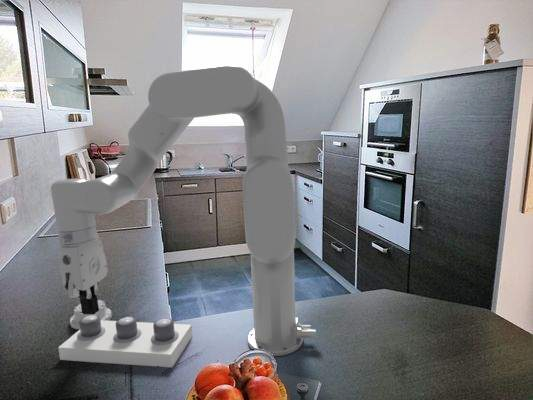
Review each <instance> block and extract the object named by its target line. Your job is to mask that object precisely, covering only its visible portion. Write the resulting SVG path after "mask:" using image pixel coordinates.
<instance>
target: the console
mask: <svg viewBox="0 0 533 400" xmlns="http://www.w3.org/2000/svg"><path fill="white" fill-rule="evenodd" d="M100 321H101V328H102V330H101V332H100V333H98V334H97V335H94V336H91V337H83V336H81V332H80V329H78V331H76V332H75V333H74V334H72V335H71V336H70V337H69V338H68V339H67V340H65V341H64V342H63V343H61V344H60V345H59V346H58V355H59V359H60V361H73V362H87V363H100V364H101V363H102V364H112V365H113V364H115V365H116V364H117V365H131V366H132V365H133V366H146V367H157V366H159V367H161V368H173V367H174V366H175V364H176V362H177V361H178V360H179V358H180V356H181V355H182V353H183V352H184V350H185V349H186V346H187V345H188V344H189V343H190V341H191V339H192V338H193V329H192V327H193V326H192V324H183V323H174V331H175V336H174V337H173V338H172V339H170V340H167V341H157V340H155V338H154V328H153V324H154V323H155V322H145V321H144V322H143V321H141V322H140V321H136V322H137V331H138V332H137V334H136V335H135V336H134V337H132V338H129V339H119V338H118V337H117V332H116V322H117V321H118V320H109V321H105V320H100Z"/></svg>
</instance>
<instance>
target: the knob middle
mask: <svg viewBox="0 0 533 400" xmlns="http://www.w3.org/2000/svg"><path fill="white" fill-rule="evenodd" d="M116 321H117V322H116V332H117V337H118V338H119V339H129V338H132V337H134V336H135V335H136V334H137V332H138V331H137V322H138V321H137V318H136V317H134V316H125V317H122V318H120V319H117V320H116Z"/></svg>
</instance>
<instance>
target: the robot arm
mask: <svg viewBox="0 0 533 400" xmlns="http://www.w3.org/2000/svg"><path fill="white" fill-rule="evenodd" d="M147 99H148V103H149V104H148V105H147V107H146V108H145V110H143V111H142V113H141V115H140V116H139V117H138V118H137V120H136V121H135V122H134V123H133V124H132V126H131V127H130V128H129V130H128V133H127V136H128V148H127V150H126V153H125V154H124V156H123V157H122V159H121V160H120V161H119V162H118V164H117V165H116V167H115V168H114V169H113V170H112V171H111V173H110V174H107V175H103V176H101V177H97V178H94V179H90V180H89V179H88V180H87V179H85V178H67V179H61V180H57V181H54V182H53V183H52V184H51V186H50V194H51V199H52V205H53V210H54V217H55V223H56V228H57V234H58V241H59V245H60V247H59V267H60V275H61V281H62V285H63V288H64V290H65V291H68V292H67V294H68V295H67V296H68V298H70V299H71V298H72V299H73V298H74V299H75V298H77V299H78V300H79V302H80V303H79V304H81V309H82V313H83V314H95V313H96V312H98V311H99V307H98V300H99V299H98V296H97V295H98V292H99V289H98V288H99V287H98V286H99V283H100V282H101V281H102V280H103V279H104V278H106V276H107V275H108V264H107V259H106V256H105V251H104V248H103V244H102V241H101V239H100V237H99V235H98V231H97V225H96V218H95V215H106V214H109V213H112V212H113V211H116V210H117V209H119V208H121V207H122V206H125V205H127V204H128V203H130V202H131V201H132V200H133V199H134V198H135V196H137V194H138V193H139V192H140V190H141V189H142V188H143V187H144V186H145V184H146V183H148V180H149V179H150V178H151V177H152V175H153V173H154V172H155V170H156V169H157V168H158V166H159V164H160V163H161V162H162V160H163V158H164V156H165V155H166V154H167V153H168V152H169V149H171V147H172V146H173V145H174V144H175V142H176V141H177V140H178V139H179V137H181V135H182V134H183V132H184V131H185V130H186V129H187V127H188V126H189V125H190V124H191V123H192V121H193V120H194V119H195V118H204V117H210V116H211V117H212V116H218V115H230V114H232V115H233V114H234V115H238V116H239V117H240V119H241V120H242V122H243V126H244V141H245V142H244V143H245V151H246V170H245V172H244V174H243V178H242V201H243V203H242V204H243V205H242V206H243V216H244V217H243V219H244V232H245V242H246V243H245V244H246V247H247V249H248V251H249V253H250V270H251V289H252V290H251V292H252V293H251V294H252V296H251V297H252V311H253V314H252V315H253V329H252V330H250V332H249V333H248V335H247V343H248V345H249V348H250V349H251V350H252V349H257V348H259V349H264V350H266V351H268V352H270V353H271V354H273V355H274V356H273V357H279V356H280V357H281V356H286V355H289V354H292V353H294V352H296V351H297V350H299V349H300V348H301V346H302V345H303V342H304V339H311V340H312V339H313V340H314V339H317V338H316V337H317V336H316V335H317V334H316V333H317V331H316V329H312V325H311V324H301V323H300V322H299V317H298V316H297V317H296V291H295V290H296V289H295V286H296V285H295V276H296V275H295V249H294V248H295V244H296V222H295V201H294V198H295V197H294V183H293V177H292V174H291V170H290V168H289V167H290V166H289V160H288V158H289V157H288V143H287V132H286V130H287V129H286V121H285V115H284V112H283V109H282V108H283V107H282V106H281V103H280V102H279V100H278V98H277V97H276V95H275V94H274V93H273V91H272V90H271V89H270V88H269V87H268V86H266V85H265V84H264V83H262V82H261V81H259V80H258V79H256V78H255V77H253V75H252V74H251V73H250V72H249V71H248V70H247V69H245V68H243V67H242V66H239V65H235V64H234V65H233V64H224V65H217V66H210V67H202V68H201V67H200V68H195V69H194V68H193V69H185V70H177V71H170V72H166V73H163V74H161V75H159V76H158V77H155V79H154V80H153V81H152V83H151V84H150V87H149V88H148V93H147Z"/></svg>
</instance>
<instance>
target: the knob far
mask: <svg viewBox="0 0 533 400" xmlns="http://www.w3.org/2000/svg"><path fill="white" fill-rule="evenodd" d="M79 325H80V329H79V330H80V332H81V336H83V337H91V336H94V335H97V334H98V333H100V332H101V330H102V328H101V321H100V317H99V316H97V315H91V316H87V317H84V318H82V319H81V320H80V321H79Z"/></svg>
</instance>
